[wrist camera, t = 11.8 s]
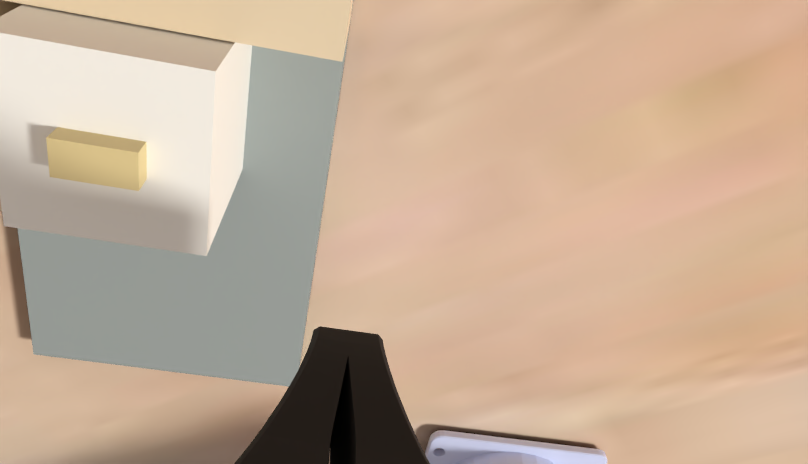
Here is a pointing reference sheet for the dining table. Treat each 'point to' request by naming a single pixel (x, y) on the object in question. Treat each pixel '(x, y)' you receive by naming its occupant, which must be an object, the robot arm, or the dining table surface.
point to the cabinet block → (119, 129)
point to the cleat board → (240, 226)
